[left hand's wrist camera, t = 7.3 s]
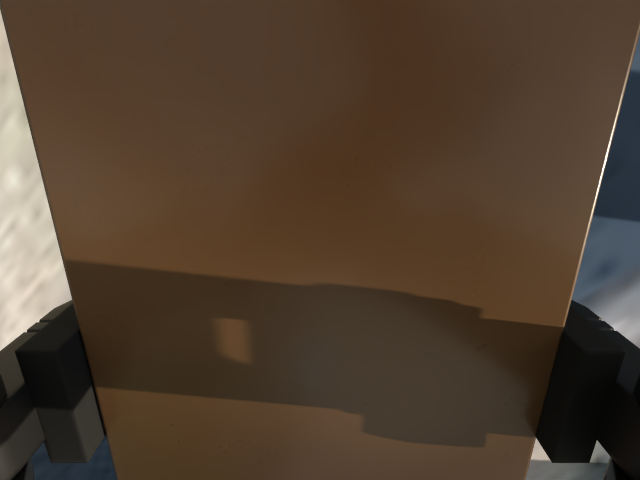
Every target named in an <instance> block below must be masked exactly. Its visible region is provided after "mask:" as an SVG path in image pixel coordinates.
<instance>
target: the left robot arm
mask: <svg viewBox="0 0 640 480" xmlns="http://www.w3.org/2000/svg"><path fill="white" fill-rule="evenodd" d="M105 435H106V433H105V429H104V425H103V421H102V417H101V413H100V409H99V405H98V401H97V397H96V393H95V389H94V385H93V381H92V377H91V373H90V369H89V365H88V361H87V357H86V353H85V349H84V345H83V340H82V336H81V332H80V328H79V324H78V320H77V316H76V312H75V308H74V304H73V300H71V301H69V302H67V303H65V304H63V305H61V306H58V307H56V308H54V309H53V310H52V311H51V312H49V313H48V314H47V315H45V316H44V317H43V318H42V319H40V322H39V323H35V324H34V325H33V326H32V327H30V328H29V329H28V330H27V332H24V333H23V334H21V335H20V336H19V337H18V338H16V339H15V340H14V341H13V342H11V343H10V344H9V345H7V346H6V347H5V348H4V349H2V350H1V351H0V480H34V469H33V465H32V462H31V459H30V458H31V457H32V455H33V454H34V453H35V452H36V450H37V449H38V448H39V447H40V445H41V444H42V443H43V442H44V443H45V446H46V449H47V452H48V455H49V458H50V461H51V463H88V462H89V460H90V459H91V457H92V456H93V454H94V453H95V451H96V449H97V448H98V446H99V445H100V443H101V442H102V440H103V438H104V437H105ZM536 438H537V440H538V441H539V443H540V444H541V446H542V447H543V449H544V451H545V452H546V454H547V455H548V457H549V458H550V460H551V462H552V463H589V462H590V459H591V456H592V453H593V450H594V447H595V444H596V441H597V440H598V442H599V443H600V444H601V445H602V447H603V448H604V449H605V450H606V451H607V453H608V454H609V455H610V459H609V462H608V465H607V468H606V470H605V473H604V476H603V479H602V480H640V349H639V348H638V347H637V346H635V345H634V344H633V343H632V342H630V341H629V340H628V339H626V338H625V337H624V336H623V335H621V334H620V333H619V332H618V331H614V328H612V327H611V326H610V325H609V324H607V323H606V322H605V321H601V318H600V317H598V316H597V315H596V314H595V313H593V312H592V311H591V310H589V309H588V308H587V307H585V306H583V305H581V304H579V303H577V302H575V301H573V300H571V303H570V307H569V311H568V315H567V319H566V322H565V326H564V330H563V333H562V337H561V340H560V344H559V348H558V352H557V356H556V360H555V364H554V368H553V372H552V376H551V380H550V384H549V388H548V392H547V395H546V399H545V403H544V407H543V411H542V415H541V419H540V423H539V427H538V431H537V435H536Z"/></svg>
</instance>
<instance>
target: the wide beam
mask: <svg viewBox="0 0 640 480" xmlns="http://www.w3.org/2000/svg"><path fill="white" fill-rule="evenodd" d="M0 10H1V14H2V18H3V22H4V26H5V30H6V34H7V38H8V42H9V46H10V50H11V54H12V58H13V62H14V66H15V70H16V74H17V78H18V82H19V86H20V90H21V94H22V98H23V102H24V106H25V111H26V115H27V119H28V123H29V127H30V131H31V135H32V139H33V143H34V147H35V151H36V155H37V159H38V163H39V167H40V171H41V175H42V179H43V183H44V187H45V191H46V195H47V199H48V203H49V207H50V211H51V215H52V219H53V223H54V228H55V232H56V236H57V240H58V244H59V248H60V252H61V256H62V260H63V264H64V268H65V272H66V276H67V280H68V284H69V288H70V292H71V296H72V300H73V304H74V308H75V312H76V316H77V320H78V324H79V328H80V332H81V336H82V340H83V345H84V349H85V353H86V357H87V361H88V365H89V369H90V373H91V377H92V381H93V385H94V389H95V393H96V397H97V401H98V405H99V409H100V413H101V417H102V421H103V425H104V429H105V433H106V437H107V441H108V445H109V449H110V453H111V457H112V462H113V466H114V470H115V474H116V478H117V480H525V478H526V475H527V471H528V467H529V463H530V459H531V455H532V451H533V447H534V443H535V439H536V435H537V431H538V427H539V423H540V419H541V415H542V411H543V407H544V403H545V399H546V395H547V392H548V388H549V384H550V380H551V376H552V372H553V368H554V364H555V360H556V356H557V352H558V348H559V344H560V340H561V337H562V333H563V330H564V326H565V322H566V319H567V315H568V311H569V307H570V303H571V299H572V295H573V291H574V287H575V283H576V280H577V276H578V272H579V268H580V264H581V260H582V256H583V252H584V248H585V244H586V241H587V237H588V233H589V229H590V225H591V221H592V217H593V213H594V209H595V206H596V202H597V198H598V194H599V190H600V186H601V182H602V178H603V174H604V170H605V167H606V163H607V159H608V155H609V151H610V147H611V143H612V139H613V135H614V131H615V128H616V124H617V120H618V116H619V112H620V108H621V104H622V100H623V96H624V92H625V89H626V85H627V81H628V77H629V73H630V69H631V65H632V61H633V57H634V53H635V50H636V46H637V42H638V38H639V34H640V0H0Z"/></svg>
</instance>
